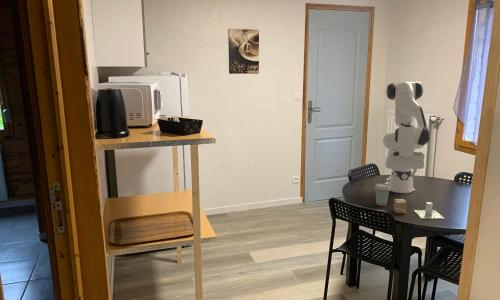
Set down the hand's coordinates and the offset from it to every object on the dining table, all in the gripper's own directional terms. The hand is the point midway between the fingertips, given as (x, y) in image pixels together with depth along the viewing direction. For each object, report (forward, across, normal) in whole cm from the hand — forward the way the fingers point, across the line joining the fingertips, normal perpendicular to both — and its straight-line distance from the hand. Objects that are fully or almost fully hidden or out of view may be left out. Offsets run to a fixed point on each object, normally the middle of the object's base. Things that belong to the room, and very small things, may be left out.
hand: (403, 176), depth 210 cm
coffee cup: (+21, +8, -12) cm, 25 cm away
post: (+21, -13, +5) cm, 25 cm away
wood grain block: (+21, +1, 0) cm, 21 cm away
